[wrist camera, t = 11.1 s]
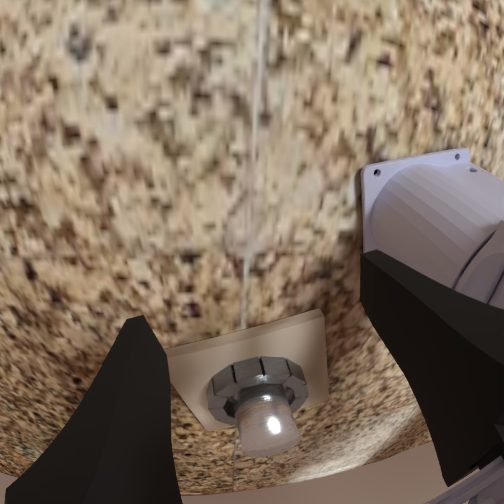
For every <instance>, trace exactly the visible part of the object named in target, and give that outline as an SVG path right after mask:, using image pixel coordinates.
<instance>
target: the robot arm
mask: <svg viewBox="0 0 504 504" xmlns="http://www.w3.org/2000/svg"><path fill="white" fill-rule="evenodd" d="M455 155H456V157H455ZM376 169H378V171H377V173H376V174H375V175H374V171H375V170H376ZM361 190H362V213H363V254H360V255H361V274H360V301H361V303H362V305H363V307H364V309H365V311H366V314H367V315H368V317H369V319H370V321H371V323H372V325H373V327H374V328H375V330H376V331H377V333H378V334H379V336H380V338H381V339H382V341H383V342H384V344H385V345H386V347H387V348H388V350H389V351H390V353H391V354H392V356H393V358H394V359H395V361H396V362H397V364H398V365H399V367H400V369H401V370H402V372H403V373H404V375H405V377H406V379H407V381H408V382H409V384H410V387H411V389H412V391H413V393H414V395H415V397H416V400H417V402H418V404H419V406H420V409H421V411H422V414H423V416H424V419H425V421H426V424H427V426H428V429H429V432H430V435H431V438H432V441H433V443H434V446H435V450H436V453H437V457H438V460H439V464H440V467H441V471H442V476H443V479H444V481H445V483H446V485H447V486H448V487H449V486H451V485H452V484H454V483H456V482H457V481H459V480H461V479H462V478H464V477H466V476H467V475H469V474H470V473H472V472H473V471H475V470H476V469H478V468H479V469H480V471H478V472H477V473H475V474H474V475H472V476H471V477H469V478H468V479H466V480H465V481H463V482H462V483H460V484H458V485H456V486H455V487H453V488H452V489H450V490H448V491H446V492H445V493H443V494H441V495H439V496H438V497H436V498H434V499H432V500H431V501H428V502H427V503H425V504H463V503H464V502H466V501H468V500H469V499H470V500H469V502H468V504H504V181H503V180H502V179H500V178H498V177H496V176H495V175H493V174H491V173H489V172H487V171H486V170H484V169H482V168H480V167H478V166H476V165H474V164H473V163H471V162H470V151H469V149H467V148H464V147H463V148H457V149H451V150H445V151H439V152H433V153H427V154H422V155H416V156H411V157H405V158H400V159H395V160H390V161H385V162H380V163H375V164H370V165H366V166H364V167H363V168H362V170H361ZM5 504H183V503H182V500H181V495H180V491H179V486H178V481H177V476H176V471H175V465H174V459H173V453H172V443H171V397H170V375H169V367H168V359H167V354H166V352H165V351H164V349H163V348H162V346H161V344H160V343H159V341H158V339H157V338H156V336H155V334H154V333H153V331H152V329H151V327H150V326H149V324H148V322H147V321H146V319H145V317H144V315H142V316H138V317H134V318H130V319H127V320H126V321H125V323H124V325H123V327H122V328H121V330H120V332H119V334H118V336H117V338H116V340H115V342H114V344H113V346H112V348H111V350H110V351H109V353H108V355H107V357H106V359H105V361H104V363H103V365H102V367H101V368H100V370H99V372H98V374H97V376H96V377H95V379H94V381H93V382H92V384H91V386H90V388H89V389H88V391H87V393H86V395H85V396H84V398H83V400H82V401H81V403H80V404H79V406H78V408H77V409H76V411H75V412H74V414H73V415H72V416H71V418H70V419H69V421H68V422H67V424H66V425H65V426H64V428H63V429H62V430H61V431H60V433H59V434H58V435H57V437H56V438H55V439H54V440H53V442H52V443H51V444H50V446H49V447H48V448H47V449H46V450H45V451H44V452H43V454H42V455H41V456H40V457H39V458H38V459H37V460H36V461H35V462H34V463H33V464H32V465H31V467H29V468H28V469H27V470H26V471H25V472H24V473H23V474H22V475H21V476H20V477H19V478H18V479H17V480H16V481H14V482H13V483H12V484H11V485H10V486H9V487H8V488H6V494H5Z"/></svg>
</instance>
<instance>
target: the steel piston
mask: <svg viewBox="0 0 504 504" xmlns="http://www.w3.org/2000/svg"><path fill="white" fill-rule="evenodd" d="M231 399H232V404H233V408H234V413H235V418H236V423H237V427H238V432H239V436H240V441H241V445H242V450H243V453H244V454H245V455H247V456H250V457H267V456H273V455H276V454H280V453H283V452H285V451H287V450H289V449H291V448H293V447H294V446H296V445H297V444H298V443H299V441H300V435H299V432H298V429H297V426H296V423H295V420H294V417H293V415H292V412H291V409H290V406H289V403H288V400H287V397H286V394H285V391H284V388H283V385H282V384H271V383H262V384H258V385H254V386H251V387H247V388H243V389H241V390H239V391H238V392H236V393H235V394H233V395H231Z"/></svg>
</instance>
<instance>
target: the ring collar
mask: <svg viewBox="0 0 504 504" xmlns="http://www.w3.org/2000/svg"><path fill="white" fill-rule="evenodd" d="M233 365H234V366H233ZM233 365H231V364H230V365H228V366H227V367H225V368H224V369H222V370H221V371H219V372H218V373H217V374H215V375H214V376H213V378H211V380H210V383H209V385H208V388H207V390H206V394H207V402H208V410H209V411H210V413H211V414H212V416H213V417H214V419H215V420H216V419H217V421H219V422H222V423H225V424H228V425H231V426H234V425H235V427H237V423H236V418H235V413H234V408H233V404H232V402H230V401H228V400H227V398H228V397H230V396H231V395H233V394H235V393H236V392H238V391H239V390H241V389H243V388H247V387H251V386H254V385H258V384H262V383H271V384H283V385H285V386H287V388H286V390H285V394H286V397H287V400H288V403H289V406H290V409H291V412H292V413H294V412H296V411H297V409H300V407H301V406H302V405H303V403H304V402H305V401H306V400H307V398H308V396H309V392H308V385H307V382H306V379H305V376H304V373H303V371H302V368H301V366H299V365H297V364H296V363H294V362H292V361H291V360H289V359H287V358H286V359H285V358H284V357H269V356H261V357H260V359H259V358H258V356H257V357H254V358H250V359H246V360H242V361H238V362H234V363H233Z"/></svg>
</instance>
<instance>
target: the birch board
mask: <svg viewBox="0 0 504 504" xmlns="http://www.w3.org/2000/svg"><path fill="white" fill-rule="evenodd" d="M164 351H165V352H166V354H167V359H168V367H169V375H170V382H171V384H172V385H173V386H174V388H175V389H176V391H177V392H178V393H179V395H180V396H181V398H182V399H183V400H184V402H185V403H186V404H187V406H188V407H189V408H190V410H191V411H192V412H193V414H194V415H195V416H196V417H197V419H198V420H199V421H200V423H201V424H202V425H203V426H204V428H205V429H206V430H207V431H213V430H218V429H223V428H228V427H233V426H231V425H228V424H225V423H222V422H219V421H217V419H216V420H215V419H214V417H213V416H212V414H211V413H210V411H209V410H208V402H207V394H206V390H207V388H208V385H209V383H210V380H211V378H213V376H214V375H215V374H217V373H218V372H219V371H221V370H222V369H224V368H225V367H227V366H228V365H230V364H231V365H233V363H234V362H238V361H242V360H246V359H250V358H254V357H257V356H258V358H259V359H260V357H261V356H269V357H284V358H285V359H286V358H287V359H289V360H291V361H292V362H294V363H296V364H297V365H299V366H301V368H302V371H303V373H304V376H305V379H306V382H307V385H308V392H309V396H308V398H307V400H306V401H305V402H304V403H303V405H302V406H301V407H300V409H302V408H305V407H309V406H312V405H315V404H318V403H321V402H324V401H327V400H329V397H328V371H327V351H326V334H325V320H324V315H323V313H322V311H321V309H320V308H317V309H314V310H311V311H307V312H304V313H301V314H298V315H294V316H291V317H287V318H284V319H281V320H277V321H274V322H270V323H266V324H263V325H259V326H256V327H252V328H248V329H245V330H241V331H237V332H233V333H230V334H226V335H222V336H218V337H214V338H210V339H206V340H202V341H198V342H194V343H189V344H185V345H181V346H177V347H172V348H168V349H164ZM233 366H234V365H233ZM282 385H283V384H282ZM283 388H284V391H285V390H286V388H287V386H285V385H283ZM227 400H228V401H230V402H232V399H231V396H230V397H228V398H227ZM297 410H299V409H297ZM234 426H235V425H234Z"/></svg>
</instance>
